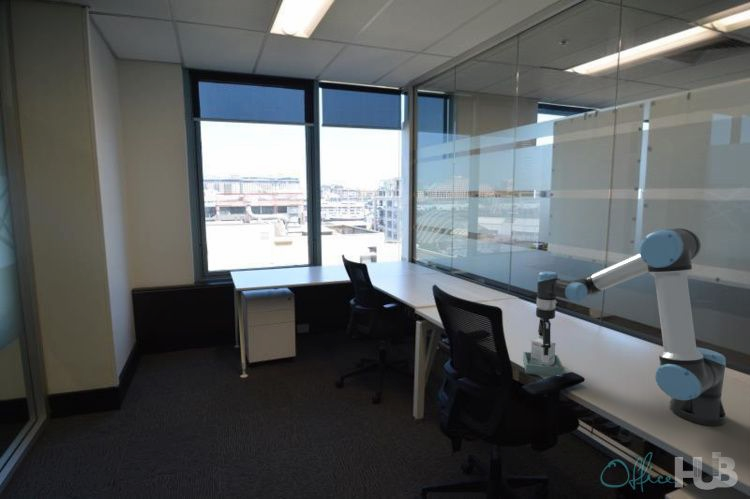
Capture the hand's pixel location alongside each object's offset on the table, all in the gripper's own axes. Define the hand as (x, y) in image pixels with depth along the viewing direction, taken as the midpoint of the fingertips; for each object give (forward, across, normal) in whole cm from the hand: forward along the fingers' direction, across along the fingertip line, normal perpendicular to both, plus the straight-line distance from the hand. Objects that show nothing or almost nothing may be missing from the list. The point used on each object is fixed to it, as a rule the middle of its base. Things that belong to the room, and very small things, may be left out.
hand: (543, 355), depth 177 cm
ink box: (+5, -1, 0) cm, 5 cm away
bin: (+6, 0, 0) cm, 6 cm away
